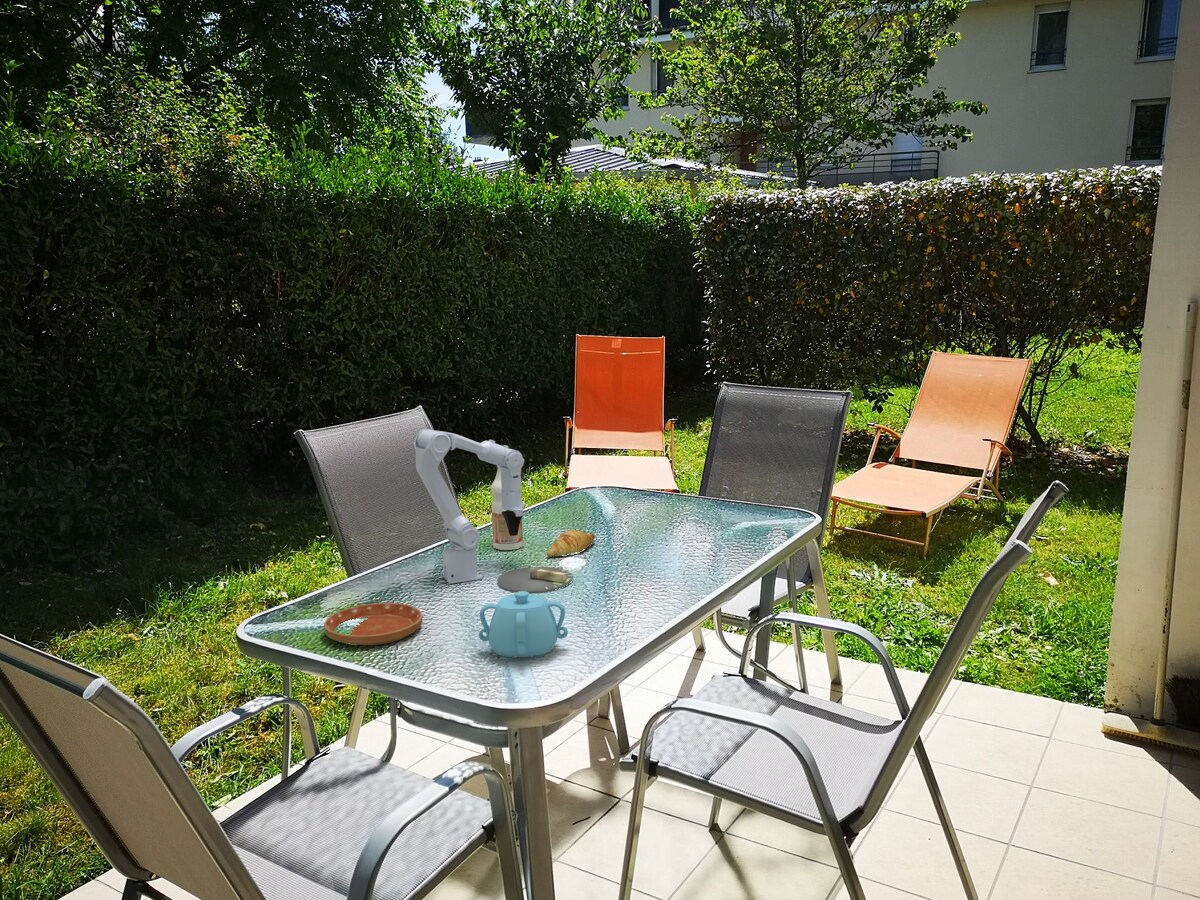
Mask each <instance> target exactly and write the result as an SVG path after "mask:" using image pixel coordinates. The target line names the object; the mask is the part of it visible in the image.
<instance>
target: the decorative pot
mask: <svg viewBox="0 0 1200 900" xmlns="http://www.w3.org/2000/svg"><path fill="white" fill-rule="evenodd" d="M551 607H556V608H558V609H559V610H560V615H559V619H558V622H557V620H556V617H555V615H554V611H553V610H552V608H551ZM489 609H490V610H491V609H492V610H494V611H493V614H492V616H491V619H490V623H489V624H488V621H487V620H486V617H485V611H487V610H489ZM565 617H566V608H565V606H564V605H563V604H562V603H561V602H559V601H556V600H552V601H548V600H547V599H546V597H545V596H543V595H540V594H534V593H528V592H526V591H519V592H514V595H513V594H511V595H506V596H503V597H501V598H500V599H499V600H498V602H497V603H490V602H489V603H487V604H485V605H483V606H482V607H481V609H480V611H479V619H480V621H481V624H482V627H483V628H482V629H481V630H479V632H478V638H479V639H480V640H481V641H482V642H488V643H489V646H490V648H491V649H492V650H493V651H494V653H495V654H496V655H499V656H502V658H503V659H506V660H511V659H514V658H524V657H525V658H527V657H528V658H529V657H532V658H535V659H538V658H542V657H544V655H545V654H548V653H549V652H551V651H552V650H553V648H554V646H555V645H556V643H557V641H558V639H560V640H562V639H565V638H566V637H567V636H568V634H569V633H568V632H569V631H568V629H567V627H565V626H563V623H564V621H565ZM561 631H563V633H561ZM484 633H486V635H484Z"/></svg>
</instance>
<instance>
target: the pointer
mask: <svg viewBox="0 0 1200 900" xmlns="http://www.w3.org/2000/svg"><path fill="white" fill-rule="evenodd" d="M539 567H540V566H532V568H530V578H539V579H544V580H550V581H556V582H562V583H564V582H566V581H567V579H566V573H561V572H555V571H549V570H543V569H540V568H539Z"/></svg>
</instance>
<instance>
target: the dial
mask: <svg viewBox="0 0 1200 900" xmlns="http://www.w3.org/2000/svg"><path fill="white" fill-rule="evenodd" d="M532 567H533V566H532ZM532 567H531V566H530V567H528V566H527V567H521V568H517V569H512V570H509V571H507V572H504V573H502V574H500V575H499V576H498V577H497V581H496V583H497V586H498V587H499V588H500V589H502V590H504V591H507V592H512V593H516V592H519V591H526V592H528V593H529V594H541V593H543V592H544V593H549V592H548V591H550V592H553V591H552V590H555V589H559V588H562V587H564V586H566V585H567V584H569V583H570V582H571V581H572V579H573V580H574V575H573V574H572V573H571V572H570V571H568V570H566V569H564V568H559V567H558V568H557V567H550V566H538V567H539V568H540V569H543V570H549V571H555V572H561V573H566V579H567V581H566V582H564V583H562V582H556V581H550V580H544V579H539V578H530V568H532ZM572 582H573V581H572ZM566 587H567V586H566ZM564 588H565V587H564ZM562 589H563V588H562ZM559 590H560V589H559ZM555 591H556V590H555ZM544 593H543V594H544Z"/></svg>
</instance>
